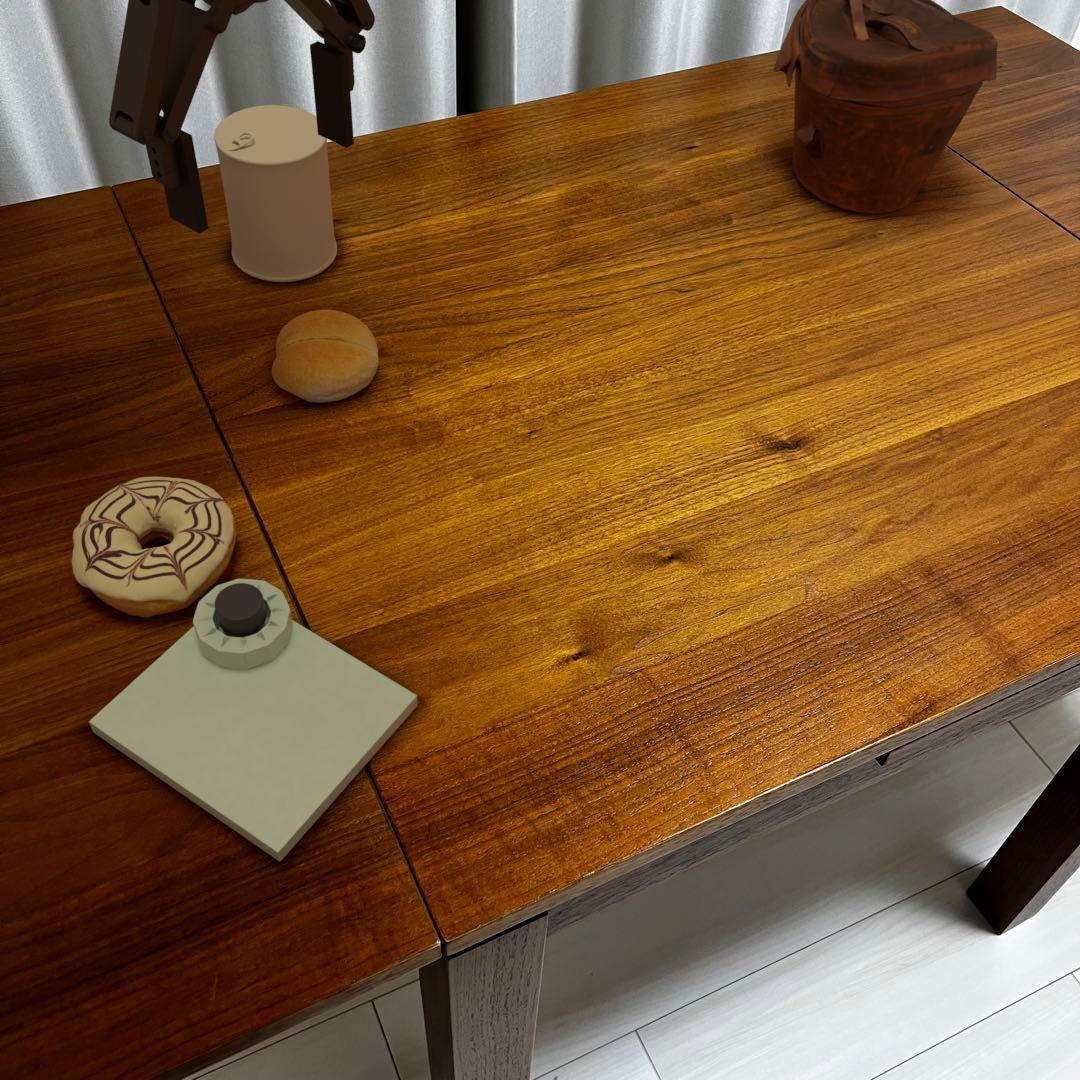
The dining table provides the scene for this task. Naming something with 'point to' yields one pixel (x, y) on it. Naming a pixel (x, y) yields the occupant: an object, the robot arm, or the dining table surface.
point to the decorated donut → (162, 572)
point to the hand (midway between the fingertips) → (266, 179)
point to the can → (277, 192)
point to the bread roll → (325, 356)
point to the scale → (256, 721)
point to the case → (879, 95)
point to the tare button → (240, 609)
